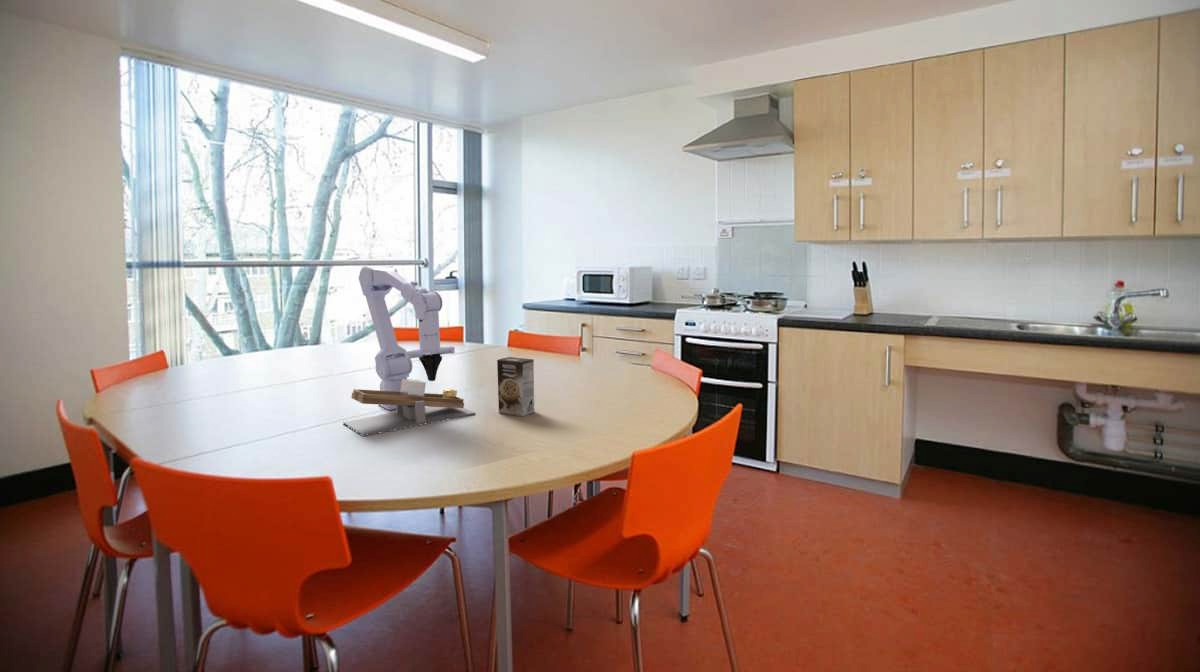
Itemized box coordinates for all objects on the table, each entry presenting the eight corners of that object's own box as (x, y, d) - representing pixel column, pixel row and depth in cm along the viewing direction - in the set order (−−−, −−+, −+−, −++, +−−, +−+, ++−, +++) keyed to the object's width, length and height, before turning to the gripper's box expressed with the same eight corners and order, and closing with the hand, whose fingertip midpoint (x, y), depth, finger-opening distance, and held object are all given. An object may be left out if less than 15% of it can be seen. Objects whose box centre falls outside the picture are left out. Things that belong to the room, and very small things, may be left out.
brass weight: (439, 398, 192) (441, 388, 192) (451, 399, 194) (453, 389, 194) (445, 400, 189) (447, 390, 189) (457, 401, 191) (459, 391, 191)
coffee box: (497, 413, 190) (495, 359, 188) (510, 408, 196) (508, 356, 193) (523, 416, 186) (521, 361, 183) (535, 411, 191) (534, 358, 189)
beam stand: (343, 424, 180) (341, 401, 179) (450, 404, 201) (449, 384, 200) (362, 436, 168) (361, 412, 167) (475, 414, 189) (474, 393, 188)
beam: (349, 397, 179) (351, 388, 179) (447, 401, 198) (449, 393, 198) (364, 404, 170) (365, 395, 170) (465, 408, 189) (466, 400, 189)
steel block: (399, 395, 185) (402, 378, 185) (415, 396, 188) (418, 379, 188) (407, 399, 181) (409, 381, 181) (423, 399, 184) (425, 382, 184)
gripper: (410, 338, 178) (413, 386, 180) (458, 333, 187) (460, 378, 189) (401, 335, 183) (403, 382, 185) (447, 331, 192) (449, 375, 194)
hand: (431, 380), depth 187 cm, fingers closed
